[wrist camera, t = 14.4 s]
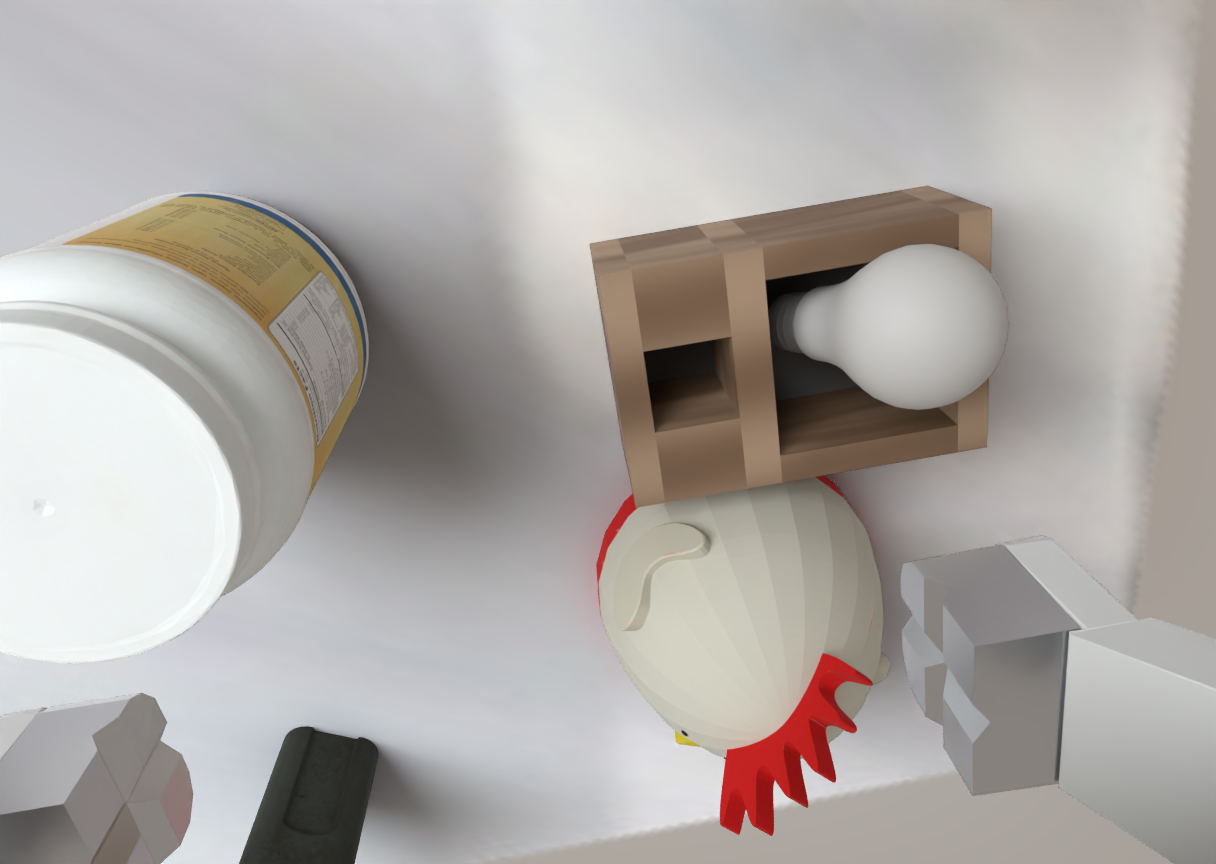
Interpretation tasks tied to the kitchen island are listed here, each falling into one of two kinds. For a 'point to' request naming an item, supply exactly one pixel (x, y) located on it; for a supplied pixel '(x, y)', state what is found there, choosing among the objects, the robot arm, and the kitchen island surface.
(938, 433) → the socket block
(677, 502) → the kitchen timer
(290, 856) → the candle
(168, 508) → the supplement tub
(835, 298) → the lightbulb
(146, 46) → the kitchen island surface
